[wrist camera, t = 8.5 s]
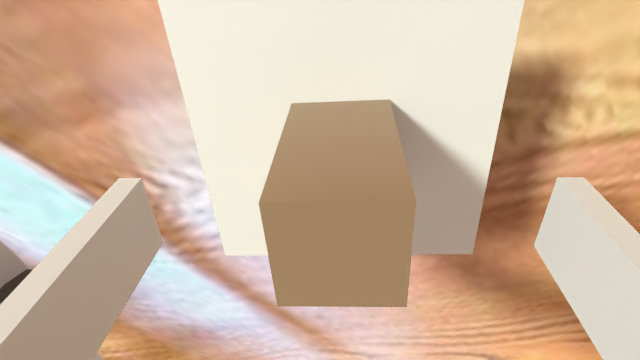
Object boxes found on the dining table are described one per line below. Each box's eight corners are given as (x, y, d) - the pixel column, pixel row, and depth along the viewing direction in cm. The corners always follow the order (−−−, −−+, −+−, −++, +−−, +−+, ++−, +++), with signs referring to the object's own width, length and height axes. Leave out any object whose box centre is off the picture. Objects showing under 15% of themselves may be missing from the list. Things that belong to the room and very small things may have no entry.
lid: (520, -38, 13) (694, -12, 7) (467, 241, 20) (526, 391, 14) (165, -15, 15) (10, 28, 8) (230, 242, 21) (177, 382, 15)
